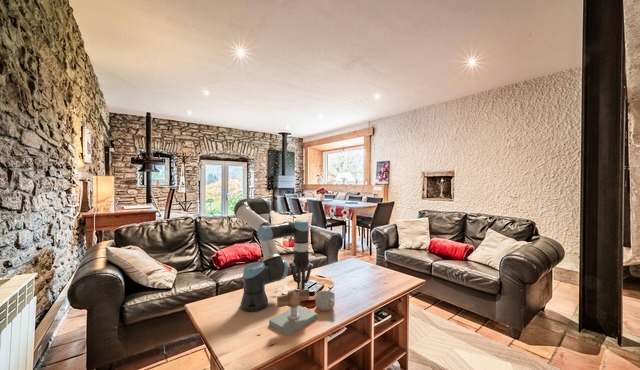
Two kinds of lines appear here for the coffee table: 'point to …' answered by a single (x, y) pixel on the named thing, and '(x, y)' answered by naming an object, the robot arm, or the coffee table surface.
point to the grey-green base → (293, 319)
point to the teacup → (324, 300)
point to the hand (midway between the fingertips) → (301, 295)
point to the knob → (293, 298)
